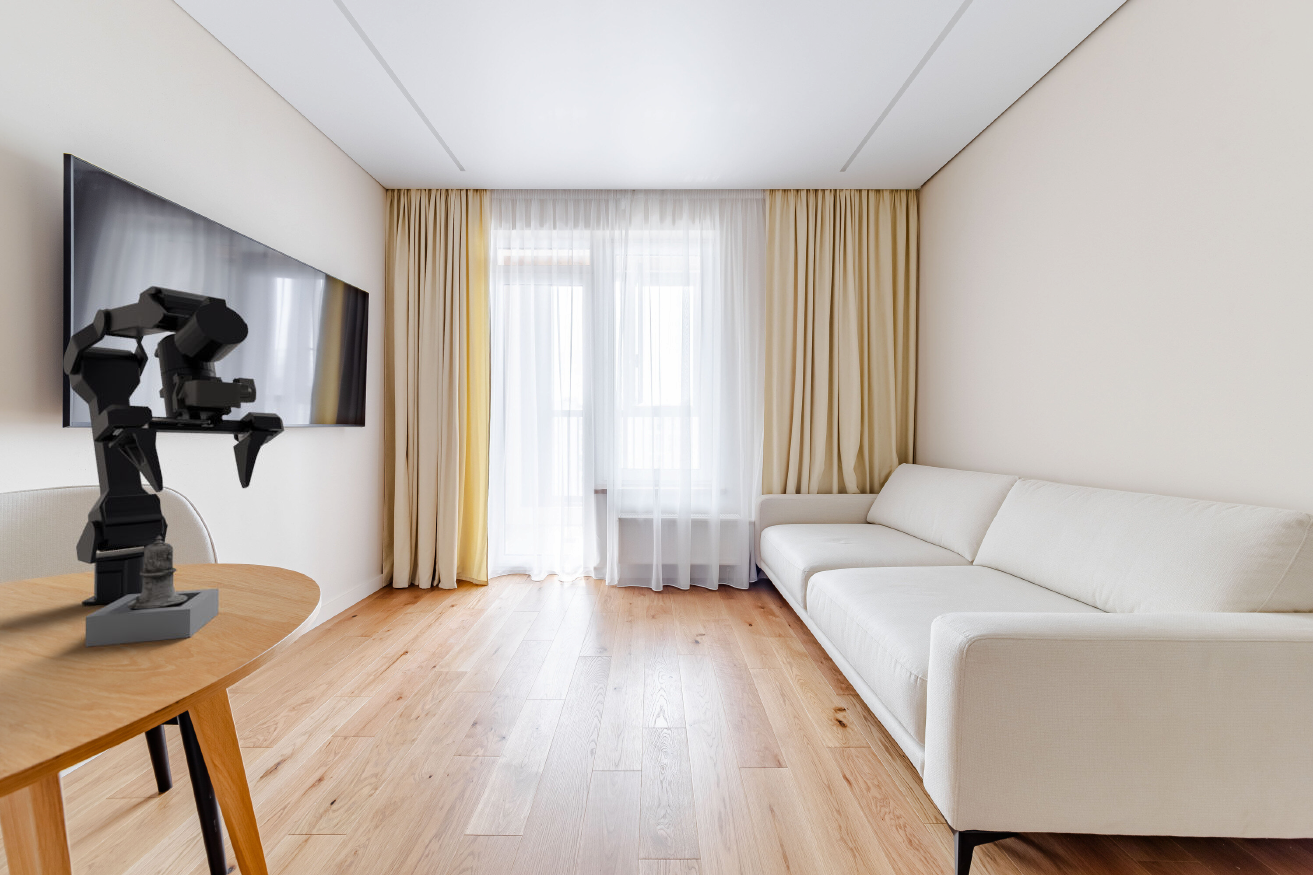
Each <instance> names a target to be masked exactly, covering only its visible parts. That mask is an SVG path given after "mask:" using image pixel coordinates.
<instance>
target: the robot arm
mask: <svg viewBox="0 0 1313 875" xmlns="http://www.w3.org/2000/svg"><path fill="white" fill-rule="evenodd" d="M138 298H139V299H138V301H137V302H135V303H133V302H132V303H131V304H130V303H129V304H127V305H122V306H118V307H114V308H105V309H98V310H97V311H96V314H95V316H94V317H93V321H92V323H90V324H88V325H87V326H85V327H83V328H82V329H80V330H78V331H77V332H75V333H74V334H73V335H72V336H71V337H70V340H69V342H68V346H67V348H66V351H65V353H64V356H63V363H62V365H63V370H64V373H65V374H66V375H68V377H69V378H68V379H69V382H70V386H71V387H70V388H71V389H72V391H73V392H75V393H76V395H78V396H79V397H80V398H81V399H82V400H83V401H84V402H85V403H86V405H88V410H89V419H90V425H91V426H90V427H91V431H92V432H91V434H92V440H93V448H94V456H95V464H96V471H97V480H98V487H99V495H100V496H99V497H98V499H97V500H96V502H95V503H94V505H93V506H92V508H91V509H90V511H89V513H88V514H87V519H88V521H87V522H86V523H85V526H84V528H83V530H82V533H81V535H80V537H79V540H78V541H77V543H76V547H75V549H76V556H77V561H79V562H82V563H86V564H89V565H92V564H94V576H93V580H94V581H93V582H94V583H93V584H94V585H93V586H94V587H93V596H91V597H88V598H85V599H84V600H82V601H81V605H82V606H85V605H86V606H87V605H88V606H89V605H100V604H101V605H102V604H111V603H113V602H115V601H117V600H119V599H121V598H123V597H124V596H126V595H128V594H141V593H142V590H143V576H142V575H140V572H142V571H144V550H145V548H146V547H147V546H149V545H150V544H153V543H154V542H156V541H157V540H156V538H157V537H158V535H160V536H161V538H162V539H161V541H163V542H164V543H166V538H167V537H166V536H167V533H168V532H167V531H168V527H169V525H168V523H167V520H166V518H165V516H164V515H163V512H162V507H161V498H160V497H159V496H158V494H156V493H161V492H162V491H163V490H164V481H163V478H164V477H163V474H162V473H163V472H162V468H161V464H160V461H159V455H158V449H157V434H158V433H163V434H164V433H167V434H169V433H170V434H171V433H172V434H175V433H176V434H177V433H178V434H203V435H204V434H205V435H206V434H211V435H233V439H234V441H236V442H237V443H236V444H234V445H233V447H232V448H233V453H234V458H235V464H236V469H237V470H236V471H237V476H238V479H239V482H240V485H241V488H242V489H247V488H249V486H250V485H251V484H250V483H251V480H252V476H253V472H254V468H255V465H256V461H257V458H258V456H259V453H260V450H261V448H262V447H263V446H264V445H265V444H268V443H269V442H271V441H273V440H274V439H275V438H276V437H278V436H279V435H281V434H282V433H283V432H285V427H284V422H283V419H282V418H281V417H280V416H279V415H278V414H277V413H274V412H255V411H249V412H247V413H246V414H245V415H244V416H243V417H241V418H240V419H238V420H237V419H223V416H228V415H230V414H231V413H232V408H235V409H241V408H242V403H243V404H251V403H255V402H256V400H257V387H256V384H255V380H254V378H247V377H237V378H236V377H234V378H233V379H232V382H228V381H223V379H222V377H220V376H218V377H217V372H216V365H215V363H217V362H220V361H221V360H223V359H224V358H226V356H228V355H229V354H230V353H232V352H233V351H234V350H235V349H237V347H238V346H240V345H241V344H242V343H243V342H244V341H245V340H246V339H247V337H248V335H249V327H248V323H246V322H245V320H244V318H243V317H242V316H241V315H240V314H239V313H238V312H236V311H235V310H233V309H232V308H230V307H229V306H227V301H226V299H225V298H220V297H215V296H210V295H204V294H198V293H194V292H189V291H182V290H177V289H172V288H165V287H162V286H157V285H152V286H149V287H148V288H146V289H145V290H143V291H142V292H140V293H139V297H138ZM167 332H168V333H171V334H167V335H166V336H164V337H162V338H161V340H159V341H158V343H156V344H157V345H156V348H155V350H154V353H153V355H154V356H153V357H155V358H156V359H158V363H159V370H160V371H159V372H160V378H161V386H162V387H161V389H160V390H159V391H158V393H159V398H160V399H163V402H164V410H165V416H153V411H152V409H151V408H150V407H149V406H145V405H131V399H130V398H131V397H132V395H133V394H134V393H135V391H136V390H137V388H138V387H139V385H140V384H141V376H142V375H143V372H144V370H145V367H146V366H147V363H148V361H149V357H148V353H147V352H146V350H145V348H144V345H143V343H142V341H143V339H144V336H145V337H146V336H150V335H157V334H161V333H167ZM105 336H108V337H115V338H125V339H132V340H135V342H136V344H137V345H136V347H135V350H134V351H131V350H128V349H120V348H111V347H102V346H101V347H100V346H95V345H96V344H98V343H99V342H101V341H103V340H104V339H105ZM141 474H142V476H143V477H144V479H145V480H146V481H147V483H148V484H149V485H150V487H152V489H153V490H154V491H155V493H149V492H148V490H146V489H145V488H144V487H143V482H142V477H141Z"/></svg>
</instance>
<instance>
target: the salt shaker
mask: <svg viewBox="0 0 1313 875" xmlns="http://www.w3.org/2000/svg"><path fill="white" fill-rule="evenodd" d="M161 539H162V538H161V536H160V535H158V537H157V538H156V540H157V541H156V542H154V543H153V544H150V545H149V546H147V547H146V548H145V550H144V571H142V572H140V575H142V576H143V590H142V593H141V596H140V598H138V599H137V600H136V601H133V602H130V603H129V604H128V605H127V607H128V608H129V609H131V610H142V609H155V608H169V607H181V606H182V605H183V604H184V601H186V600H187V596H185V595H179V594H177V593H176V592H175V591H176V589H175V587H174V573H175V572H177V570H178V569H177V568H175V567H174V546H172V544H170V543H168V542H165V543H164V542H163V541H161Z"/></svg>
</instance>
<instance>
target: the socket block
mask: <svg viewBox="0 0 1313 875" xmlns="http://www.w3.org/2000/svg"><path fill="white" fill-rule="evenodd" d="M175 592H176V593H177V594H179V595H185V596H187V600H186V601H184V604H183V605H182V606H181V607H169V608H155V609H142V610H131V609H129V608H128V607H127V605H128V604H129V603H130V602H133V601H136V600H137V599H138V598H140V596H141V594H128V595H126V596H124V597H123V598H121V599H119V600H117V601H115V602H113V603H108V604H107V605H105V606H104V607H102V608H100V609H98V610H95V612H93V613H90V614H88V615H86V616H85V647H86V648H87V647H88V648H89V647H96V646H97V647H98V646H106V645H107V646H108V645H119V644H132V643H142V642H143V643H144V642H153V641H155V642H156V641H163V640H164V641H165V640H173V639H174V640H175V639H186V638H191V637H192V636H193V635H194V634H196V633H197V632H198V631H200V630H201V629H202V628H203V627H204V626H206V624H208V623H209V622H210V621H211V620H213V619H214V618H215V617H216V616H218V615H219V605H220V604H219V601H220V600H219V594H220V593H219V592H220V590H219V588H206V589H193V590H189V589H188V590H178V591H177V590H175Z"/></svg>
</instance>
